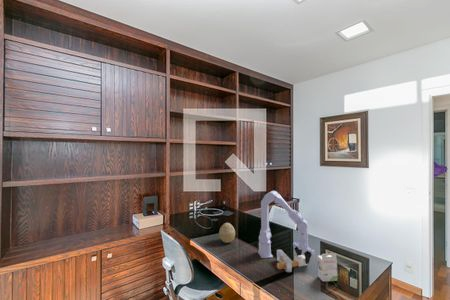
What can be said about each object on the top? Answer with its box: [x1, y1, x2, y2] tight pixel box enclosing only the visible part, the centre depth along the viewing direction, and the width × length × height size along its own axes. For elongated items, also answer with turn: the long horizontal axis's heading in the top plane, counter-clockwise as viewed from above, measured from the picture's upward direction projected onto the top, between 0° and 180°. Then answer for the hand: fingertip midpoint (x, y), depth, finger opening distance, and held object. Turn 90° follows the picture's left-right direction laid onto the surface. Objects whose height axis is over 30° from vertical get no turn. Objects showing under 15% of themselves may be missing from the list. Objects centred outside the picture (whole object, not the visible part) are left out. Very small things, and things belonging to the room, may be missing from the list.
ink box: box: [317, 252, 339, 282], centre depth 115 cm, size 9×5×15 cm, turn 92°
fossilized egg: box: [218, 222, 236, 244], centre depth 165 cm, size 13×13×15 cm
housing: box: [276, 249, 293, 273], centre depth 129 cm, size 14×3×7 cm, turn 9°
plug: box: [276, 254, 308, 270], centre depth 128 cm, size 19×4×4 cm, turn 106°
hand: (303, 261), depth 131 cm, fingers closed on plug, 5 cm apart
